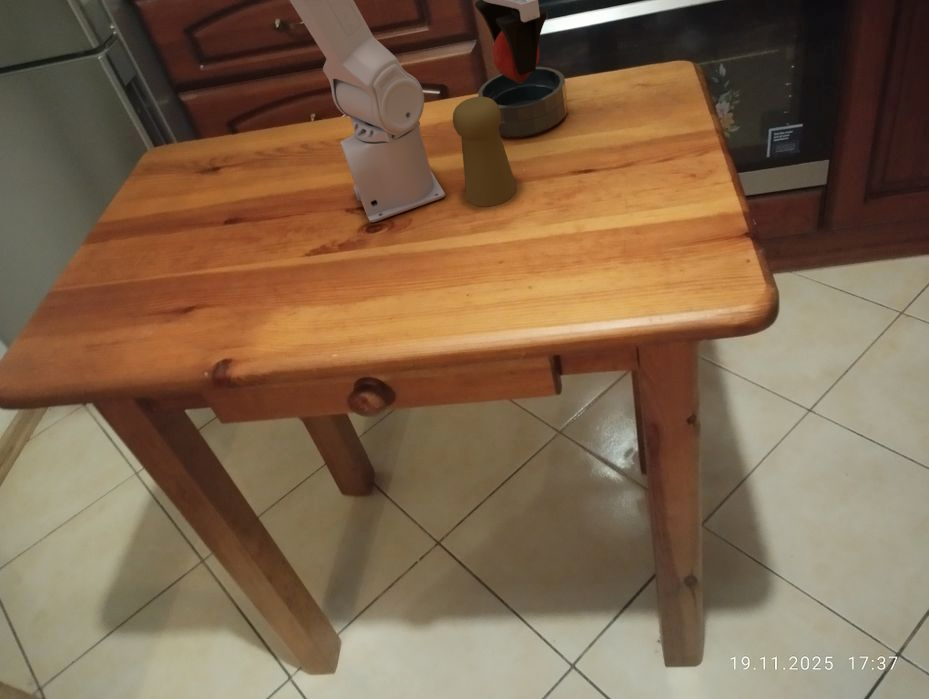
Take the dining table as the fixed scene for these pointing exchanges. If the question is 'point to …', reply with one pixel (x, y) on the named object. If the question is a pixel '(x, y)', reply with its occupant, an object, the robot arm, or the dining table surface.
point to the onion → (507, 59)
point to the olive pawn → (483, 152)
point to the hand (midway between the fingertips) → (517, 63)
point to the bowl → (528, 101)
